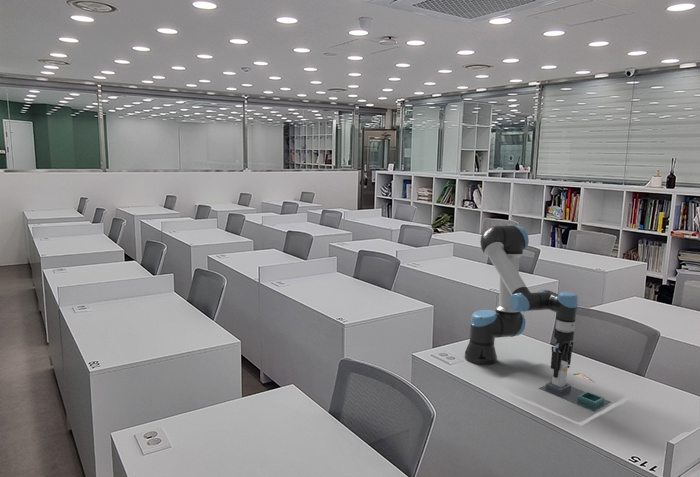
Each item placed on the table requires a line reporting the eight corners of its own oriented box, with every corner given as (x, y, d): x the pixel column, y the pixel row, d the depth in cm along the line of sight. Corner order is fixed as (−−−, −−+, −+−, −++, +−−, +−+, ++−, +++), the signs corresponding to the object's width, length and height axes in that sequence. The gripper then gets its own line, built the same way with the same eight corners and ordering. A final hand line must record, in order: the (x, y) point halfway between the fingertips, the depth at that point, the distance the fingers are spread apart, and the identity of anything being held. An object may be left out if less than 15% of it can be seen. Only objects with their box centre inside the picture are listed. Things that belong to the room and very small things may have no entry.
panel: (538, 390, 218) (538, 383, 217) (555, 382, 226) (556, 376, 226) (593, 413, 199) (594, 406, 199) (611, 404, 208) (611, 397, 207)
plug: (551, 388, 218) (554, 361, 216) (556, 385, 221) (559, 359, 219) (561, 392, 215) (564, 364, 213) (566, 389, 217) (569, 362, 215)
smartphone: (588, 391, 220) (567, 376, 235) (603, 389, 222) (581, 375, 236) (588, 389, 220) (567, 374, 235) (603, 387, 222) (582, 373, 236)
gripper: (561, 336, 206) (556, 391, 209) (583, 328, 216) (577, 381, 220) (544, 330, 212) (539, 384, 215) (566, 323, 222) (561, 375, 226)
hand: (558, 382), depth 218 cm, fingers closed on plug, 4 cm apart
